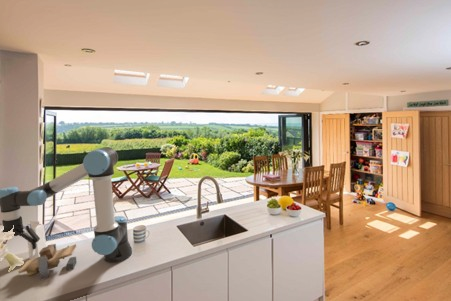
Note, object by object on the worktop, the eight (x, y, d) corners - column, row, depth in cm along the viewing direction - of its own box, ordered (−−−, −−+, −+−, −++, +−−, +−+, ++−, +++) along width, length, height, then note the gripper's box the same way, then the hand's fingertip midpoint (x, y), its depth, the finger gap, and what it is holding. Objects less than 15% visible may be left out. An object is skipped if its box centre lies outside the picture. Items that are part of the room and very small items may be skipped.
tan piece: (79, 252, 142) (74, 238, 140) (74, 263, 131) (68, 247, 129) (31, 269, 135) (25, 254, 133) (22, 281, 124) (15, 266, 122)
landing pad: (76, 262, 140) (76, 256, 139) (73, 269, 133) (72, 263, 133) (70, 263, 139) (69, 257, 138) (67, 270, 132) (66, 264, 132)
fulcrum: (57, 262, 140) (55, 243, 139) (48, 278, 126) (46, 257, 125) (50, 263, 139) (48, 245, 138) (40, 279, 125) (37, 259, 124)
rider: (56, 252, 135) (52, 244, 134) (53, 257, 130) (49, 249, 129) (45, 256, 134) (42, 248, 133) (42, 261, 129) (38, 252, 128)
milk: (38, 254, 150) (34, 219, 147) (47, 254, 149) (43, 219, 146) (29, 259, 144) (24, 223, 141) (39, 260, 143) (34, 223, 140)
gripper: (43, 211, 132) (48, 249, 135) (-15, 219, 124) (-9, 258, 127) (38, 217, 125) (43, 256, 128) (-25, 224, 117) (-18, 266, 120)
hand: (17, 257), depth 127 cm, fingers open, 13 cm apart
